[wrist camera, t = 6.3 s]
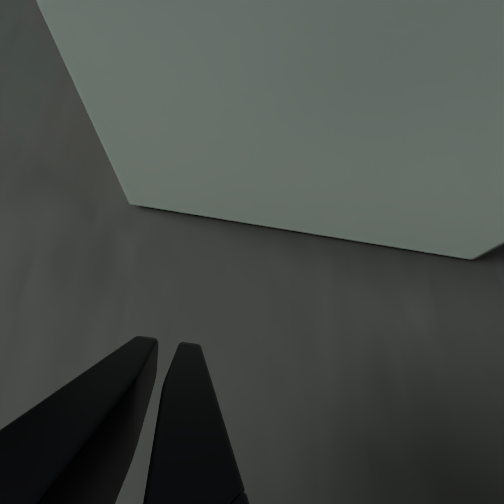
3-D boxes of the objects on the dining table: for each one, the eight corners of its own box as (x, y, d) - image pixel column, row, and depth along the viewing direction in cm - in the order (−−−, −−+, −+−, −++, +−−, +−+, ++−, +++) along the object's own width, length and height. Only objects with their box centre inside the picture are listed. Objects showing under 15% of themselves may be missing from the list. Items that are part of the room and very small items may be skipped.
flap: (481, 261, 18) (929, 35, 7) (129, 203, 17) (-31, -146, 6) (479, 241, 18) (900, -4, 7) (135, 185, 18) (-7, -178, 6)
